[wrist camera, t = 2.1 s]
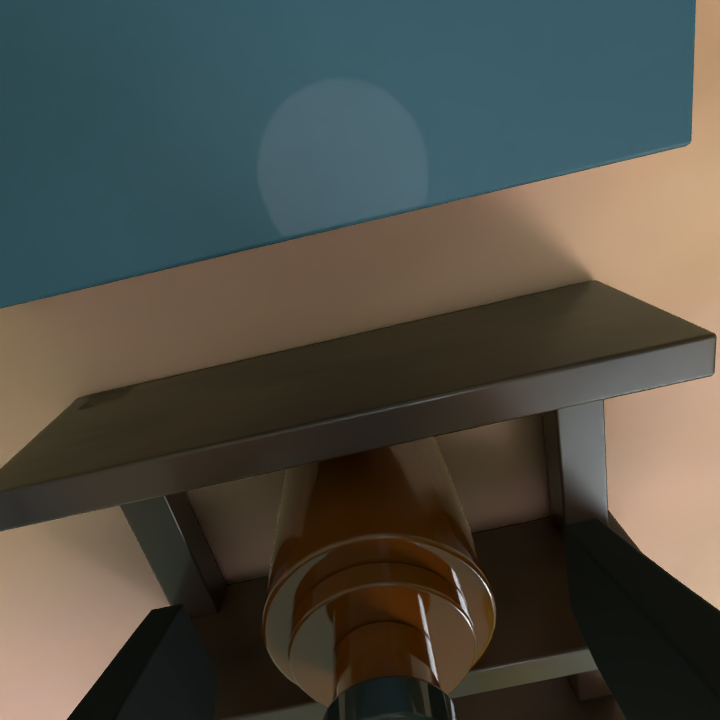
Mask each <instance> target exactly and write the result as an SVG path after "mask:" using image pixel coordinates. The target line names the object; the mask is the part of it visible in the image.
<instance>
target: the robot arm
mask: <svg viewBox="0 0 720 720" xmlns="http://www.w3.org/2000/svg"><path fill="white" fill-rule="evenodd" d="M563 529H564V542H565V554H566V566H567V578H568V591H569V603H570V608H571V610H572V612H573V614H574V617H575V619H576V621H577V624H578V626H579V628H580V631H581V633H582V635H583V637H584V640H585V642H586V644H587V646H588V648H589V651H590V653H591V655H592V657H593V660H594V662H595V664H596V666H597V668H598V670H599V671H600V673H601V675H602V677H603V679H604V680H605V682H606V684H607V686H608V687H609V689H610V691H611V693H612V695H613V696H614V698H615V700H616V702H617V704H618V705H619V707H620V709H621V711H622V712H623V714H624V716H625V718H626V719H627V720H720V611H719V610H718V609H717V608H715V607H714V606H712V605H711V604H710V603H708V602H707V601H706V600H704V599H703V598H701V597H700V596H699V595H697V594H696V593H694V592H693V591H692V590H690V589H689V588H688V587H686V586H685V585H684V584H682V583H681V582H679V581H678V580H677V579H675V578H674V577H673V576H671V575H670V574H669V573H668V572H666V571H665V570H664V569H662V568H661V567H660V566H658V565H657V564H656V563H654V562H653V561H652V560H651V559H649V558H648V557H647V556H645V555H644V554H643V553H641V552H640V551H639V550H638V549H636V548H635V547H634V546H633V545H631V544H630V543H629V542H627V541H626V540H625V539H624V538H622V537H621V536H620V535H619V534H617V533H616V532H615V531H614V530H612V529H611V528H610V527H609V526H607V525H606V524H605V523H603V522H602V521H600V520H599V519H597V518H594V519H589V520H584V521H580V522H575V523H570V524H565V525H563ZM217 685H218V674H217V672H216V670H215V668H214V666H213V664H212V662H211V660H210V658H209V656H208V654H207V652H206V650H205V648H204V645H203V643H202V641H201V639H200V637H199V635H198V633H197V631H196V629H195V627H194V625H193V623H192V621H191V619H190V617H189V615H188V613H187V611H186V609H185V607H184V605H183V604H178V605H173V606H168V607H163V608H158V609H154V610H151V612H150V613H149V614H148V615H147V616H146V618H145V619H144V620H143V621H142V623H141V624H140V625H139V626H138V628H137V629H136V630H135V632H134V633H133V634H132V635H131V637H130V638H129V639H128V641H127V642H126V643H125V645H124V646H123V647H122V649H121V650H120V651H119V652H118V654H117V655H116V656H115V658H114V659H113V660H112V662H111V663H110V664H109V666H108V667H107V668H106V670H105V671H104V672H103V673H102V675H101V676H100V677H99V679H98V680H97V681H96V683H95V684H94V685H93V686H92V688H91V689H90V690H89V692H88V693H87V694H86V695H85V697H84V698H83V699H82V701H81V702H80V703H79V704H78V706H77V707H76V708H75V710H74V711H73V712H72V713H71V715H70V716H69V717H68V719H67V720H214V713H215V704H216V695H217Z"/></svg>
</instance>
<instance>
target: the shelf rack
mask: <svg viewBox="0 0 720 720" xmlns="http://www.w3.org/2000/svg"><path fill="white" fill-rule="evenodd" d="M715 354H716V335H715V333H713V332H711V331H709V330H706V329H704V328H702V327H700V326H697V325H695V324H693V323H691V322H688V321H686V320H684V319H682V318H680V317H677V316H675V315H673V314H671V313H668V312H666V311H664V310H662V309H659V308H657V307H655V306H653V305H650V304H648V303H646V302H644V301H641V300H639V299H637V298H635V297H633V296H630V295H628V294H626V293H624V292H621V291H619V290H617V289H615V288H612V287H610V286H608V285H606V284H603V283H601V282H599V281H596V280H595V281H590V282H586V283H582V284H577V285H573V286H568V287H564V288H559V289H555V290H551V291H546V292H542V293H537V294H533V295H529V296H525V297H520V298H516V299H511V300H507V301H503V302H498V303H494V304H490V305H485V306H481V307H476V308H472V309H468V310H463V311H459V312H454V313H450V314H446V315H441V316H437V317H433V318H428V319H424V320H419V321H415V322H411V323H406V324H402V325H397V326H393V327H389V328H384V329H380V330H376V331H371V332H367V333H362V334H358V335H354V336H349V337H345V338H340V339H336V340H332V341H327V342H323V343H319V344H314V345H310V346H305V347H301V348H297V349H292V350H288V351H284V352H279V353H275V354H270V355H266V356H262V357H257V358H253V359H248V360H244V361H240V362H235V363H231V364H227V365H222V366H218V367H213V368H209V369H205V370H200V371H196V372H191V373H187V374H183V375H178V376H174V377H170V378H165V379H161V380H156V381H152V382H148V383H143V384H139V385H134V386H129V387H125V388H120V389H116V390H112V391H107V392H103V393H98V394H94V395H91V396H86V397H82V398H78V399H76V400H75V401H74V402H73V403H72V404H71V405H70V406H69V407H68V408H66V409H65V410H64V411H63V412H62V413H61V414H60V415H59V416H58V417H57V418H56V419H54V420H53V421H52V422H51V423H50V424H49V425H48V426H47V427H46V428H45V429H43V430H42V431H41V432H40V433H39V434H38V435H37V436H36V437H35V438H34V439H33V440H31V441H30V442H29V443H28V444H27V445H26V446H25V447H24V448H23V449H22V450H20V451H19V452H18V453H17V454H16V455H15V456H14V457H13V458H12V459H11V460H10V461H8V462H7V463H6V464H5V465H4V466H3V467H2V468H1V469H0V531H4V530H9V529H14V528H18V527H23V526H27V525H32V524H37V523H41V522H46V521H50V520H55V519H59V518H64V517H69V516H73V515H78V514H82V513H87V512H91V511H96V510H101V509H105V508H110V507H114V506H119V505H120V507H121V509H122V511H123V513H124V515H125V517H126V519H127V521H128V522H129V524H130V526H131V528H132V530H133V532H134V534H135V536H136V538H137V540H138V542H139V544H140V546H141V548H142V550H143V552H144V554H145V556H146V558H147V560H148V562H149V564H150V566H151V568H152V570H153V572H154V574H155V576H156V578H157V580H158V582H159V583H160V585H161V587H162V589H163V591H164V593H165V595H166V597H167V599H168V601H169V603H170V605H171V606H173V605H178V604H183V605H184V607H185V609H186V611H187V613H188V615H189V617H190V619H191V621H192V623H193V625H194V627H195V629H196V631H197V633H198V635H199V637H200V639H201V641H202V643H203V645H204V648H205V650H206V652H207V654H208V656H209V658H210V660H211V662H212V664H213V666H214V668H215V670H216V672H217V674H218V685H217V695H216V704H215V713H214V720H323V718H324V715H325V712H326V710H327V708H328V707H325V706H323V705H322V704H320V703H318V702H316V701H315V700H313V699H312V698H311V697H309V696H308V695H307V694H306V693H305V692H304V691H303V690H302V689H301V688H300V687H298V686H297V685H295V684H294V683H293V682H291V681H290V680H289V679H288V678H287V677H286V676H285V675H284V674H283V673H282V672H281V671H280V670H279V669H278V668H277V666H276V665H275V664H274V662H273V661H272V659H271V657H270V655H269V653H268V651H267V648H266V645H265V642H264V639H263V632H262V615H263V608H264V602H265V596H266V590H267V583H268V577H266V578H262V579H257V580H252V581H247V582H243V583H238V584H233V585H228V586H226V585H225V583H224V581H223V578H222V576H221V574H220V571H219V569H218V567H217V565H216V562H215V560H214V558H213V556H212V553H211V551H210V549H209V546H208V544H207V542H206V540H205V537H204V535H203V533H202V531H201V528H200V526H199V524H198V521H197V519H196V517H195V515H194V512H193V510H192V508H191V506H190V503H189V501H188V499H187V496H186V494H185V492H184V491H187V490H192V489H197V488H201V487H206V486H210V485H215V484H219V483H224V482H229V481H233V480H238V479H242V478H247V477H251V476H256V475H261V474H265V473H270V472H274V471H279V470H284V469H288V468H293V467H297V466H302V465H306V464H311V463H316V462H320V461H325V460H329V459H334V458H338V457H343V456H348V455H352V454H357V453H361V452H366V451H370V450H375V449H380V448H384V447H389V446H393V445H398V444H402V443H407V442H412V441H416V440H421V439H425V438H430V437H434V436H439V435H444V434H448V433H453V432H457V431H462V430H466V429H471V428H476V427H480V426H485V425H489V424H494V423H499V422H503V421H508V420H512V419H517V418H521V417H526V416H531V415H535V414H540V413H542V415H543V426H544V436H545V447H546V458H547V469H548V480H549V491H550V502H551V512H552V518H547V519H542V520H538V521H533V522H528V523H523V524H519V525H514V526H509V527H504V528H499V529H495V530H490V531H485V532H480V533H476V534H472V536H473V538H474V541H475V544H476V546H477V549H478V552H479V555H480V557H481V560H482V563H483V565H484V568H485V571H486V573H487V576H488V579H489V582H490V584H491V587H492V590H493V593H494V597H495V601H496V612H497V614H496V623H495V629H494V633H493V636H492V639H491V641H490V643H489V645H488V648H487V649H486V651H485V652H484V654H483V655H482V657H481V658H480V660H479V661H478V662H477V663H476V664H475V665H474V666H473V668H472V669H470V671H469V672H468V674H467V675H466V677H465V678H464V680H463V681H462V682H461V683H460V684H459V685H458V686H457V687H456V688H455V689H454V690H453V691H452V692H451V693H449V694H448V696H449V697H450V699H451V700H452V702H453V704H454V706H455V708H456V711H457V716H458V720H627V719H626V718H625V716H624V714H623V712H622V711H621V709H620V707H619V705H618V704H617V702H616V700H615V698H614V696H613V695H612V693H611V691H610V689H609V687H608V686H607V684H606V682H605V680H604V679H603V677H602V675H601V673H600V671H599V670H598V668H597V666H596V664H595V662H594V660H593V657H592V655H591V653H590V651H589V648H588V646H587V644H586V642H585V640H584V637H583V635H582V633H581V631H580V628H579V626H578V624H577V621H576V619H575V617H574V614H573V612H572V610H571V608H570V603H569V591H568V578H567V566H566V554H565V542H564V529H563V525H565V524H570V523H575V522H580V521H584V520H589V519H594V518H597V519H599V520H600V521H602V522H603V523H605V524H606V525H607V526H609V527H610V528H611V529H612V530H614V531H615V532H616V533H617V534H619V535H620V536H621V537H622V538H624V539H625V540H626V541H627V542H629V543H630V544H631V545H633V546H634V547H635V548H636V549H638V550H639V548H638V547H637V546H636V545H635V543H634V542H633V541H632V540H631V538H630V537H629V536H628V534H627V533H626V532H625V531H624V529H623V528H622V527H621V526H620V524H619V523H618V522H617V521H616V519H615V518H614V517H613V515H612V514H611V513H610V512H609V510H608V501H607V474H606V447H605V420H604V399H608V398H613V397H617V396H622V395H627V394H631V393H636V392H640V391H645V390H649V389H654V388H659V387H663V386H668V385H672V384H677V383H681V382H686V381H691V380H695V379H700V378H704V377H709V376H712V375H713V374H714V371H715ZM639 551H640V550H639ZM640 552H641V551H640ZM641 553H642V552H641Z"/></svg>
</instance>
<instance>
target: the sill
mask: <svg viewBox="0 0 720 720" xmlns="http://www.w3.org/2000/svg"><path fill="white" fill-rule="evenodd" d="M695 9H696V0H0V308H5V307H9V306H13V305H17V304H22V303H26V302H30V301H34V300H38V299H43V298H47V297H51V296H55V295H59V294H64V293H68V292H72V291H76V290H81V289H85V288H89V287H93V286H97V285H102V284H106V283H110V282H114V281H119V280H123V279H127V278H131V277H135V276H140V275H144V274H148V273H152V272H157V271H161V270H165V269H169V268H173V267H178V266H182V265H186V264H190V263H195V262H199V261H203V260H207V259H211V258H216V257H220V256H224V255H228V254H232V253H237V252H241V251H245V250H249V249H254V248H258V247H262V246H266V245H270V244H275V243H279V242H283V241H287V240H292V239H296V238H300V237H304V236H308V235H313V234H317V233H321V232H325V231H330V230H334V229H338V228H342V227H346V226H351V225H355V224H359V223H363V222H368V221H372V220H376V219H380V218H384V217H389V216H393V215H397V214H401V213H406V212H410V211H414V210H418V209H422V208H427V207H431V206H435V205H439V204H443V203H448V202H452V201H456V200H460V199H465V198H469V197H473V196H477V195H481V194H486V193H490V192H494V191H498V190H503V189H507V188H511V187H515V186H519V185H524V184H528V183H532V182H536V181H541V180H545V179H549V178H553V177H557V176H562V175H566V174H570V173H574V172H579V171H583V170H587V169H591V168H595V167H600V166H604V165H608V164H612V163H616V162H621V161H625V160H629V159H633V158H638V157H642V156H646V155H650V154H654V153H659V152H663V151H667V150H671V149H676V148H680V147H684V146H687V145H688V144H690V142H691V133H692V102H693V71H694V40H695Z"/></svg>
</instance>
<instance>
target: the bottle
mask: <svg viewBox="0 0 720 720" xmlns="http://www.w3.org/2000/svg"><path fill="white" fill-rule="evenodd" d="M496 614H497V612H496V601H495V597H494V593H493V590H492V587H491V584H490V582H489V579H488V576H487V573H486V571H485V568H484V565H483V563H482V560H481V557H480V555H479V552H478V549H477V546H476V544H475V541H474V538H473V536H472V533H471V530H470V528H469V525H468V522H467V519H466V517H465V514H464V511H463V509H462V506H461V503H460V501H459V498H458V495H457V492H456V490H455V487H454V484H453V482H452V479H451V476H450V473H449V471H448V468H447V465H446V463H445V460H444V457H443V455H442V452H441V449H440V446H439V444H438V442H437V439H436V437H435V436H434V437H430V438H425V439H421V440H416V441H412V442H407V443H402V444H398V445H393V446H389V447H384V448H380V449H375V450H370V451H366V452H361V453H357V454H352V455H348V456H343V457H338V458H334V459H329V460H325V461H320V462H316V463H311V464H306V465H302V466H297V467H293V468H288V469H286V471H285V477H284V483H283V490H282V496H281V502H280V508H279V515H278V521H277V527H276V533H275V540H274V546H273V552H272V558H271V565H270V571H269V577H268V583H267V590H266V596H265V602H264V608H263V615H262V632H263V639H264V642H265V645H266V648H267V651H268V653H269V655H270V657H271V659H272V661H273V662H274V664H275V665H276V666H277V668H278V669H279V670H280V671H281V672H282V673H283V674H284V675H285V676H286V677H287V678H288V679H289V680H290V681H291V682H293V683H294V684H295V685H297V686H298V687H300V688H301V689H302V690H303V691H304V692H305V693H306V694H307V695H308V696H309V697H311V698H312V699H313V700H315V701H316V702H318V703H320V704H322V705H323V706H325V707H328V708H327V710H326V712H325V715H324V718H323V720H458V716H457V711H456V708H455V706H454V704H453V702H452V700H451V699H450V697H449V696H448V694H449V693H451V692H452V691H453V690H454V689H455V688H456V687H457V686H458V685H459V684H460V683H461V682H462V681H463V680H464V678H465V677H466V675H467V674H468V672H469V671H470V669H472V668H473V666H474V665H475V664H476V663H477V662H478V661H479V660H480V658H481V657H482V655H483V654H484V652H485V651H486V649H487V648H488V645H489V643H490V641H491V639H492V636H493V633H494V629H495V623H496Z"/></svg>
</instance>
